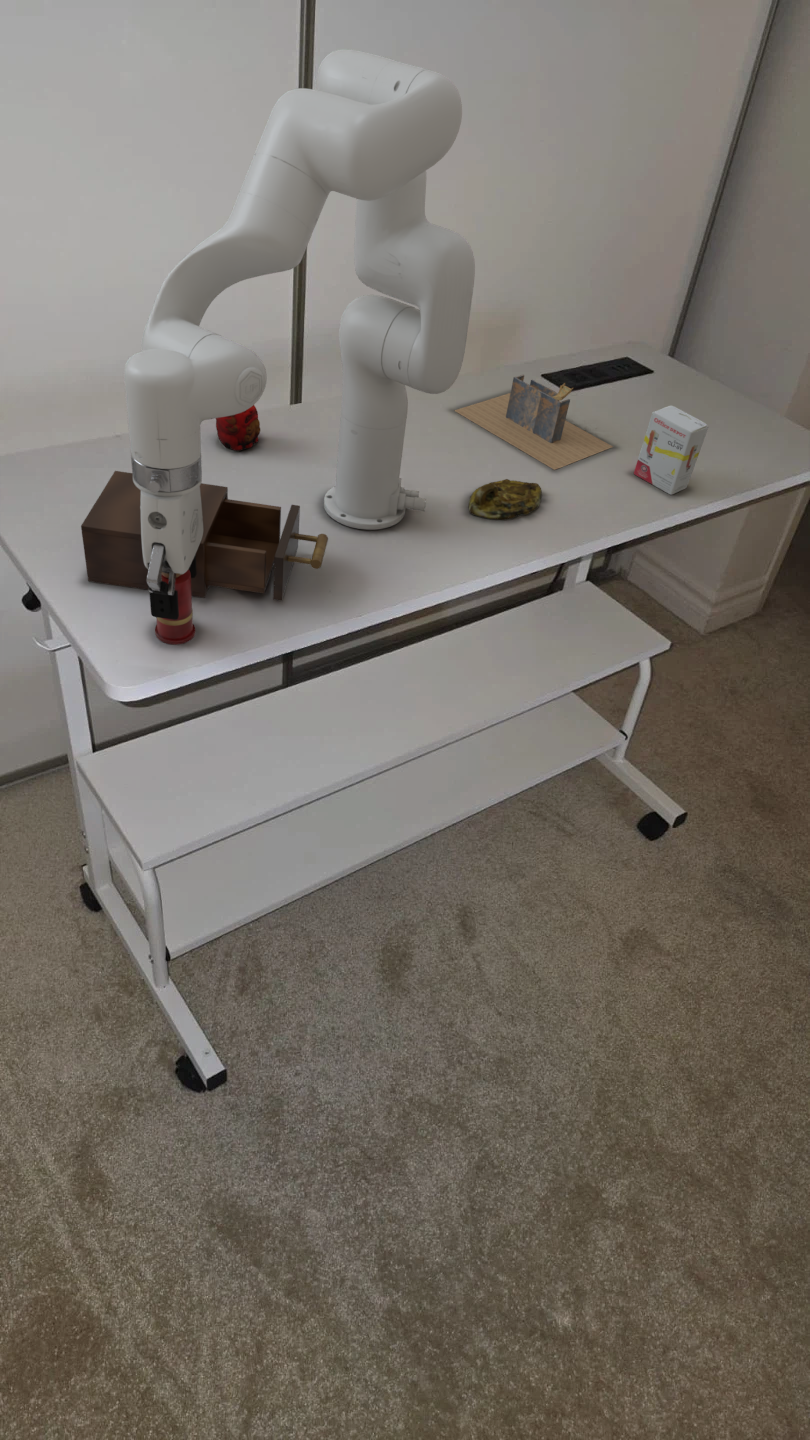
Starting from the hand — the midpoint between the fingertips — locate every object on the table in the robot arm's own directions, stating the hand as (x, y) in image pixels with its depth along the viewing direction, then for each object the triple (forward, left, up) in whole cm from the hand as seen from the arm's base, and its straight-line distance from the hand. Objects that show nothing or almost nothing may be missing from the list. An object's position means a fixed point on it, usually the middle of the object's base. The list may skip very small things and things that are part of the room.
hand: (174, 595), depth 118 cm
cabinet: (+6, -15, -6) cm, 17 cm away
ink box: (-69, -59, -6) cm, 91 cm away
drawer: (-7, -15, -5) cm, 17 cm away
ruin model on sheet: (-47, -72, -6) cm, 86 cm away
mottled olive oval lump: (-42, -44, -6) cm, 61 cm away
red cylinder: (0, 0, -6) cm, 6 cm away
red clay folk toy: (+3, -51, -6) cm, 51 cm away
